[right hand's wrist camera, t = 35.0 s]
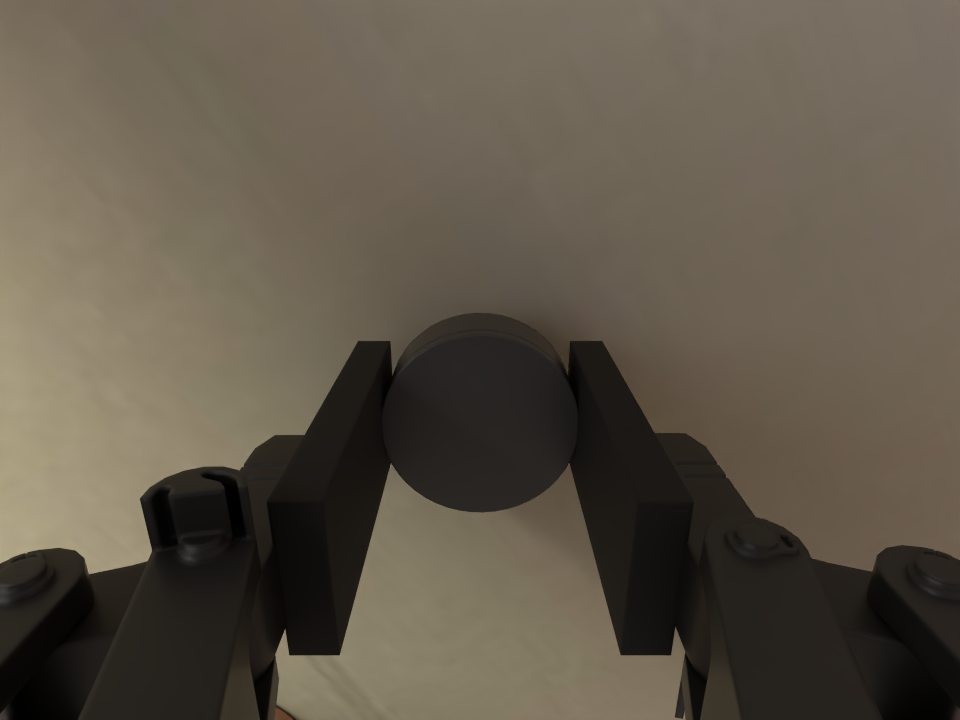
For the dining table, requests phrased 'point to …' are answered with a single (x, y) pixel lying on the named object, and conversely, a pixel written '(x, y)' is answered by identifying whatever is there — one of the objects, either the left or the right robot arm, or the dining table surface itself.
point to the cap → (480, 414)
